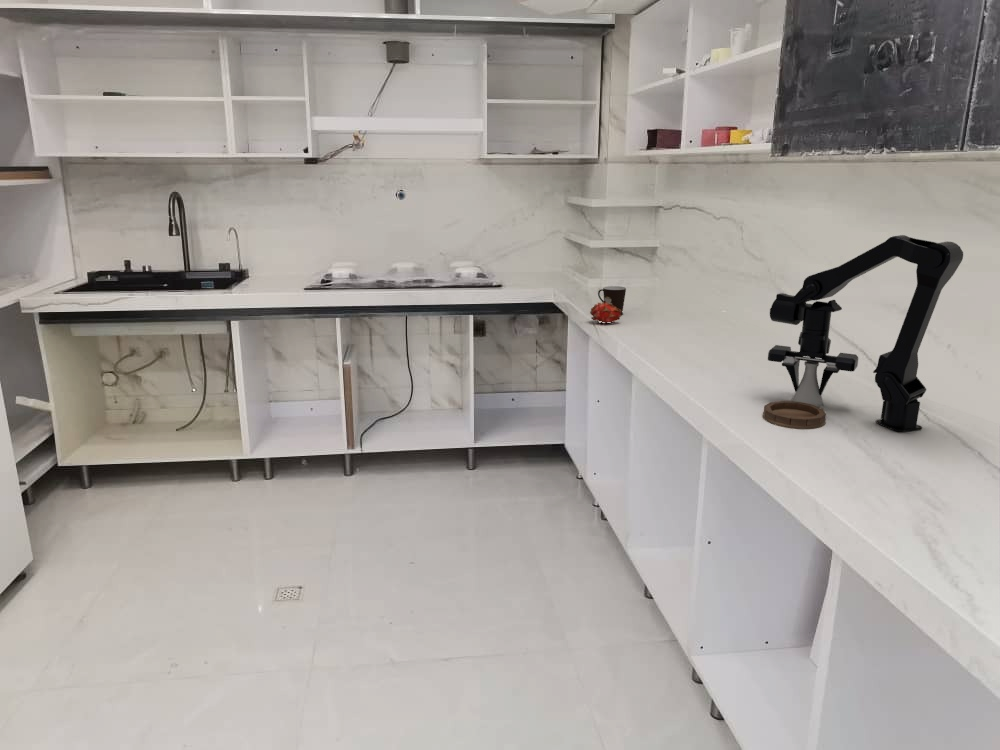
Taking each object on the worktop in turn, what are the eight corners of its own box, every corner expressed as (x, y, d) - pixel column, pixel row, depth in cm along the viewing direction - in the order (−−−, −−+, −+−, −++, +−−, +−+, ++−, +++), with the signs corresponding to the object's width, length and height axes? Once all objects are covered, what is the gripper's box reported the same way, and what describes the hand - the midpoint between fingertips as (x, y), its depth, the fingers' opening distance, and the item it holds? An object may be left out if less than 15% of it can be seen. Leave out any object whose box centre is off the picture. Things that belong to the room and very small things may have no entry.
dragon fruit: (586, 327, 261) (619, 332, 261) (590, 317, 253) (624, 322, 253) (589, 306, 264) (621, 310, 264) (592, 295, 256) (626, 300, 256)
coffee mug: (628, 315, 273) (630, 289, 270) (607, 317, 271) (608, 290, 268) (616, 309, 284) (617, 284, 281) (595, 311, 281) (596, 285, 279)
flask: (796, 396, 176) (800, 357, 173) (827, 402, 172) (832, 361, 169) (786, 404, 171) (790, 363, 168) (818, 410, 166) (823, 368, 164)
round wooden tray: (838, 425, 157) (840, 415, 156) (787, 431, 153) (788, 422, 153) (798, 406, 169) (799, 398, 168) (750, 412, 165) (751, 403, 165)
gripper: (865, 326, 168) (857, 390, 172) (781, 317, 178) (775, 379, 182) (858, 335, 159) (849, 403, 163) (770, 326, 169) (764, 390, 173)
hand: (808, 393), depth 170 cm, fingers closed on flask, 5 cm apart
